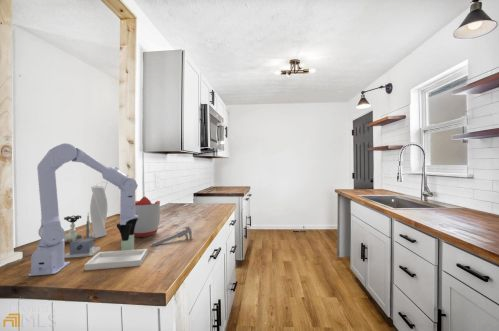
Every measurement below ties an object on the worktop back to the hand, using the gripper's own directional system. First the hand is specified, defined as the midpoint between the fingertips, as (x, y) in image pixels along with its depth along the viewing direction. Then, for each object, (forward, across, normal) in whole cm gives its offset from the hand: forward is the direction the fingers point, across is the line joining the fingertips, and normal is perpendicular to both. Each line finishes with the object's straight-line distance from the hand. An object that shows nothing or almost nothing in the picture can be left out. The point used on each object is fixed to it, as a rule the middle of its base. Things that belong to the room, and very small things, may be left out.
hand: (128, 237), depth 102 cm
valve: (+6, +18, +29) cm, 35 cm away
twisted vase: (+6, +26, +21) cm, 34 cm away
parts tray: (+5, -12, 0) cm, 13 cm away
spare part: (+5, 0, 0) cm, 5 cm away
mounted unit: (+5, 0, +17) cm, 18 cm away
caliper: (+6, +8, -17) cm, 20 cm away
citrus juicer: (+6, +25, -2) cm, 26 cm away
